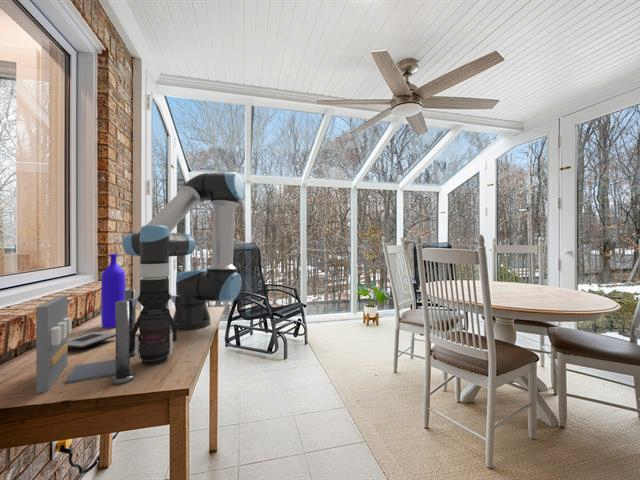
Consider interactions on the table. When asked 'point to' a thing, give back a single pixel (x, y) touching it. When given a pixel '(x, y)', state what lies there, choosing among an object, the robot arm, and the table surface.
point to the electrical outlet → (89, 339)
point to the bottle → (111, 292)
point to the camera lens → (154, 337)
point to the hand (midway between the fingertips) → (154, 355)
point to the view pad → (92, 371)
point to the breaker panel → (51, 341)
